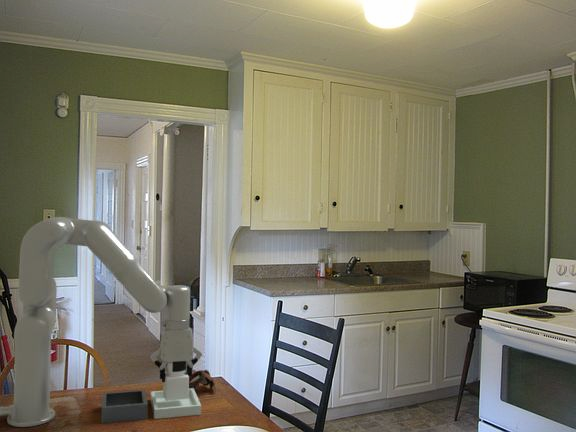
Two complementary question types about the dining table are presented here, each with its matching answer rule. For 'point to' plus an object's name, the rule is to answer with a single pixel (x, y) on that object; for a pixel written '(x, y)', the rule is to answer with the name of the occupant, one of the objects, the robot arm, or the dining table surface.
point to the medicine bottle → (176, 381)
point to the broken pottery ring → (202, 380)
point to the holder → (124, 406)
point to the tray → (175, 405)
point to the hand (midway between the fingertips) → (175, 379)
